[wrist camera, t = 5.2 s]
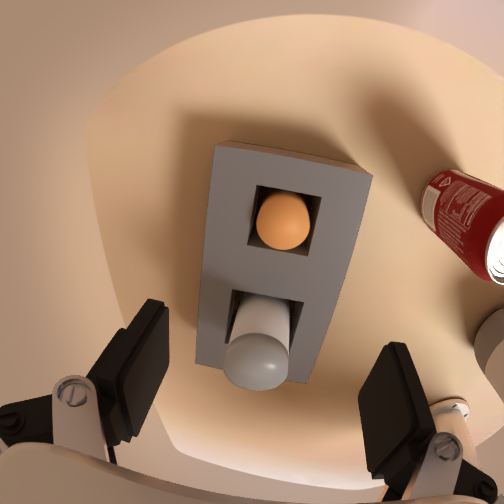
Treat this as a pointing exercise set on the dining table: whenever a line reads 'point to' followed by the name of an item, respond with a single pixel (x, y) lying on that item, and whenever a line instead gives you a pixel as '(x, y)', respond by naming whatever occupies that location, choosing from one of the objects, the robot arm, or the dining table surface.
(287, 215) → the brown egg
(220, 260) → the housing
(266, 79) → the dining table surface
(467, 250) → the soda can
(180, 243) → the dining table surface
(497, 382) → the smart speaker
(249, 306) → the cylinder
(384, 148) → the dining table surface
